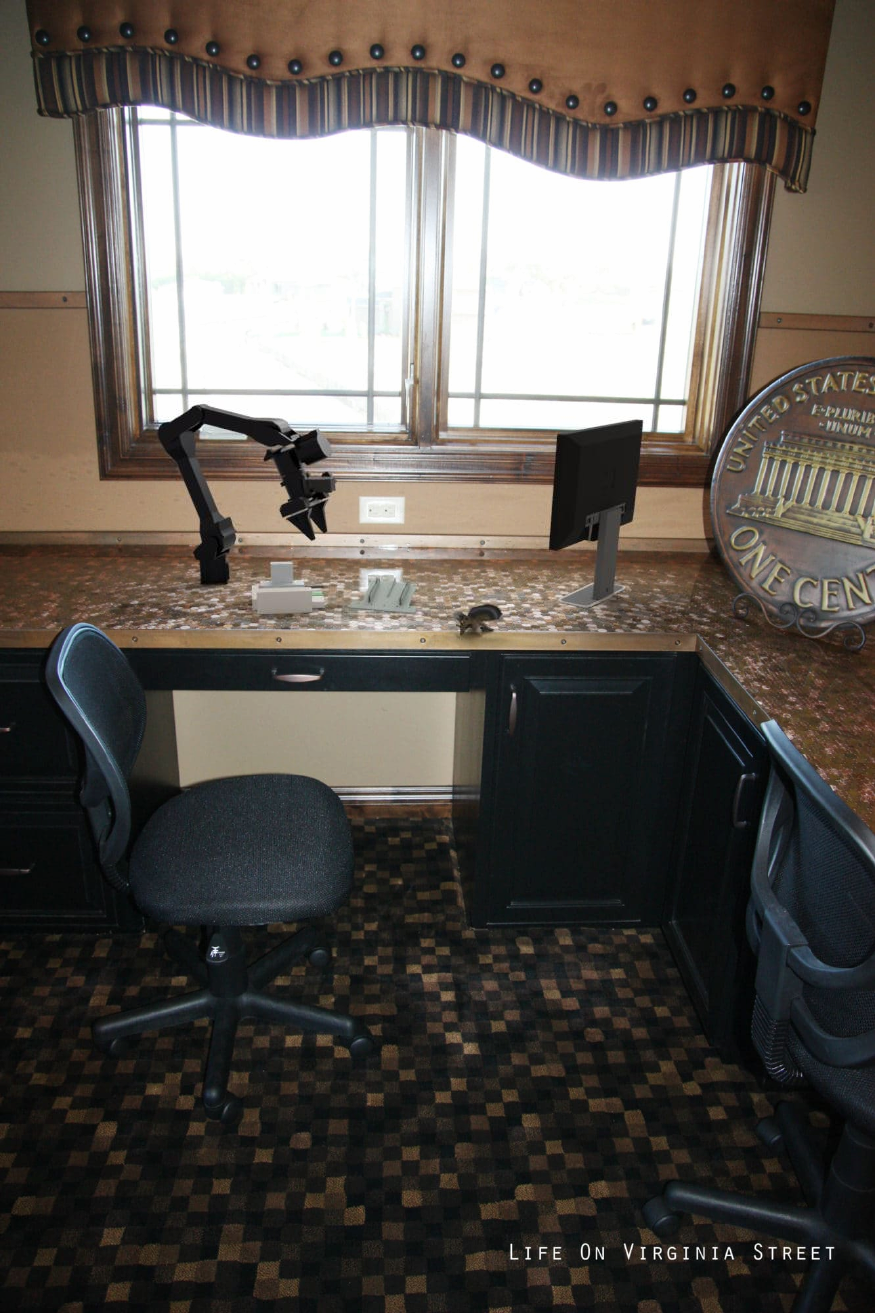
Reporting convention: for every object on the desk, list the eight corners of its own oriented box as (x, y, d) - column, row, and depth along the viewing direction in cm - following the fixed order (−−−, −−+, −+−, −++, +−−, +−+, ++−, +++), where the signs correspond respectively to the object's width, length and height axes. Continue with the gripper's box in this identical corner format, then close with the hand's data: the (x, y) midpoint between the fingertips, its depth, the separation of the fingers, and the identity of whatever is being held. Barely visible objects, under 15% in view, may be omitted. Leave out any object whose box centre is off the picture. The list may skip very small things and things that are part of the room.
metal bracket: (364, 571, 216) (426, 576, 213) (366, 591, 220) (427, 596, 217) (347, 604, 205) (412, 610, 202) (349, 625, 208) (414, 631, 206)
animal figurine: (477, 638, 187) (508, 622, 192) (462, 607, 187) (493, 592, 192) (459, 647, 194) (489, 632, 198) (444, 617, 194) (475, 602, 198)
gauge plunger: (261, 598, 210) (259, 566, 208) (260, 593, 214) (259, 562, 211) (324, 596, 213) (323, 565, 210) (323, 591, 217) (322, 560, 214)
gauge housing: (252, 614, 201) (251, 592, 199) (252, 595, 214) (251, 575, 212) (325, 611, 204) (325, 590, 202) (320, 593, 217) (320, 573, 215)
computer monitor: (612, 574, 240) (628, 418, 226) (642, 580, 236) (660, 421, 221) (535, 611, 209) (547, 432, 194) (568, 619, 204) (583, 436, 190)
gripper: (310, 464, 198) (338, 531, 202) (334, 455, 216) (360, 517, 219) (266, 483, 201) (295, 548, 205) (294, 472, 219) (320, 533, 222)
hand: (319, 536), depth 213 cm, fingers open, 9 cm apart
